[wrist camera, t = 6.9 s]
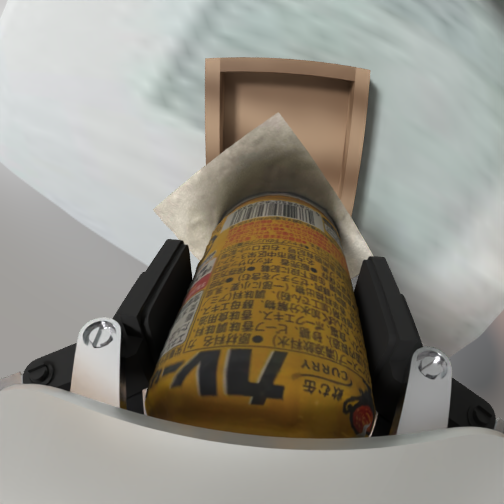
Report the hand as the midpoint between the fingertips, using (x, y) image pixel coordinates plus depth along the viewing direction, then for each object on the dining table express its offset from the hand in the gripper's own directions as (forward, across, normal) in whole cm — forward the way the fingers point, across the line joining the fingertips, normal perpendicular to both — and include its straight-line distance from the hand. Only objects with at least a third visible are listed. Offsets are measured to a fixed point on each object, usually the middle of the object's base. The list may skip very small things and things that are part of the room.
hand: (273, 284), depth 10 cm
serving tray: (+18, 0, 0) cm, 18 cm away
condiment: (+4, 0, 0) cm, 4 cm away
